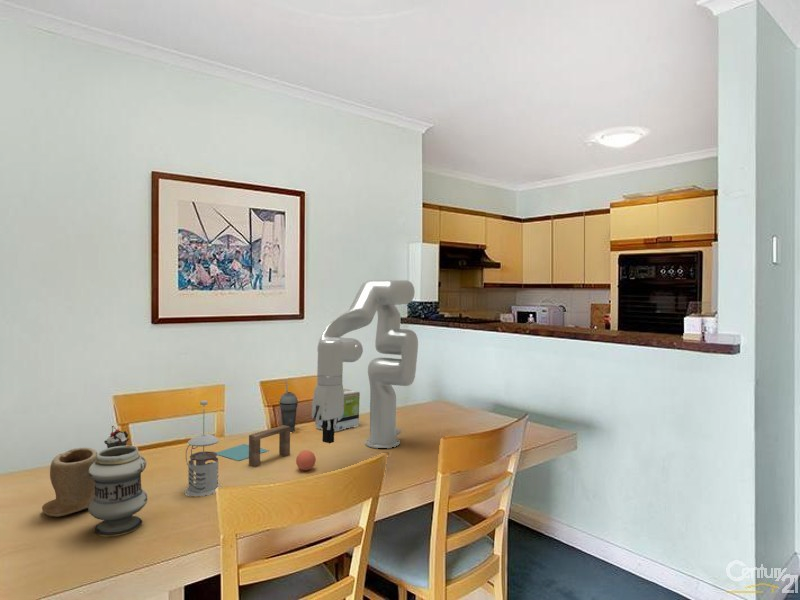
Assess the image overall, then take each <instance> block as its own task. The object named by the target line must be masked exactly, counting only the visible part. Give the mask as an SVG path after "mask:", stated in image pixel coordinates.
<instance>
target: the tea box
mask: <svg viewBox="0 0 800 600" xmlns="http://www.w3.org/2000/svg"><path fill="white" fill-rule="evenodd" d="M343 391H344V413H343V415H342V419H341V420H339V421H338V422H337V423H336V428H335V429H334V433H336V432H339V431H343V429H344V430H347V429H346V428H349V429H351V428H350V427H354V426H357V425H359V423H360V398H361V397H360V394H361V393H360V391H356V390H352V389H346V388H343ZM359 426H360V425H359ZM315 427H316V429H317V428H318V429H317V430H320V429H321V431H323V429H322V428H321V426H320V425H316V424H315ZM354 428H355V427H354Z"/></svg>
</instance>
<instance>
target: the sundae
mask: <svg viewBox="0 0 800 600" xmlns="http://www.w3.org/2000/svg"><path fill="white" fill-rule="evenodd" d="M110 428H112V430H111V432H110V435H109V436H108V437H107V438H106V440H104V444H105V445H106V449H107V448H111V447H117V446H127V442H129V441H130V437H129V433H127V431H126V430H125V431H122V430H119V429H116V428H115V426H114V425H112V426H111V427H110ZM114 428H115V431H114Z"/></svg>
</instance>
